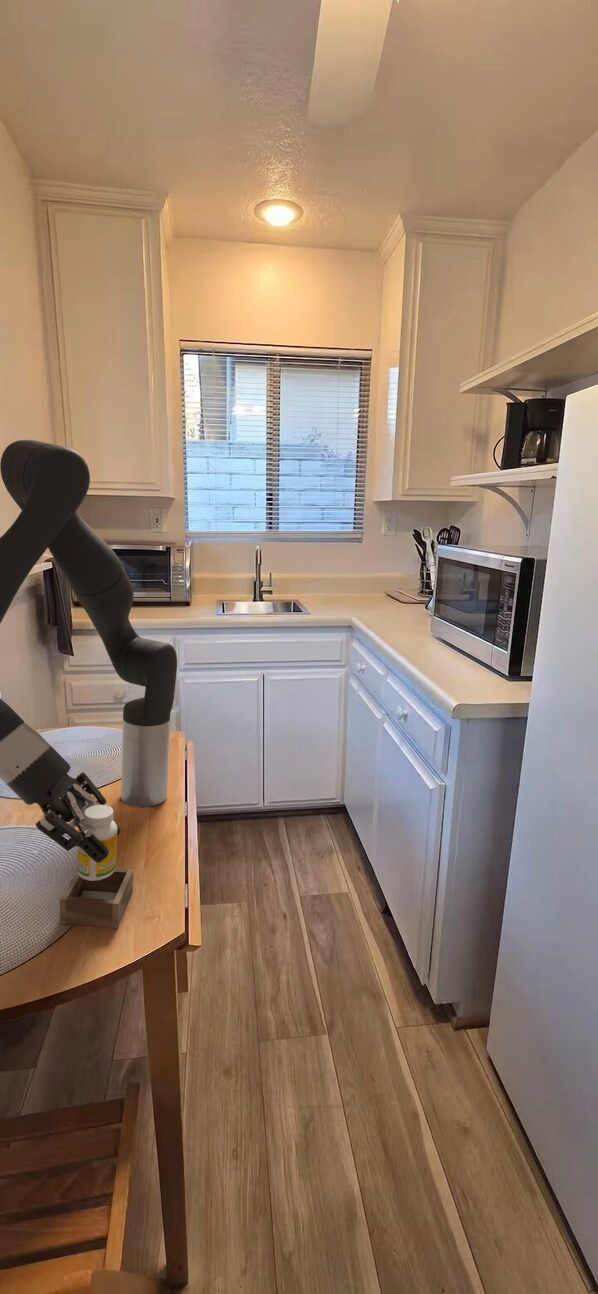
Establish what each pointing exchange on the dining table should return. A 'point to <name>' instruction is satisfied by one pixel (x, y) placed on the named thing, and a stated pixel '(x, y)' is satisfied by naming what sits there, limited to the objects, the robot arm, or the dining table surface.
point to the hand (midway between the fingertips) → (110, 845)
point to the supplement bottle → (106, 833)
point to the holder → (97, 900)
